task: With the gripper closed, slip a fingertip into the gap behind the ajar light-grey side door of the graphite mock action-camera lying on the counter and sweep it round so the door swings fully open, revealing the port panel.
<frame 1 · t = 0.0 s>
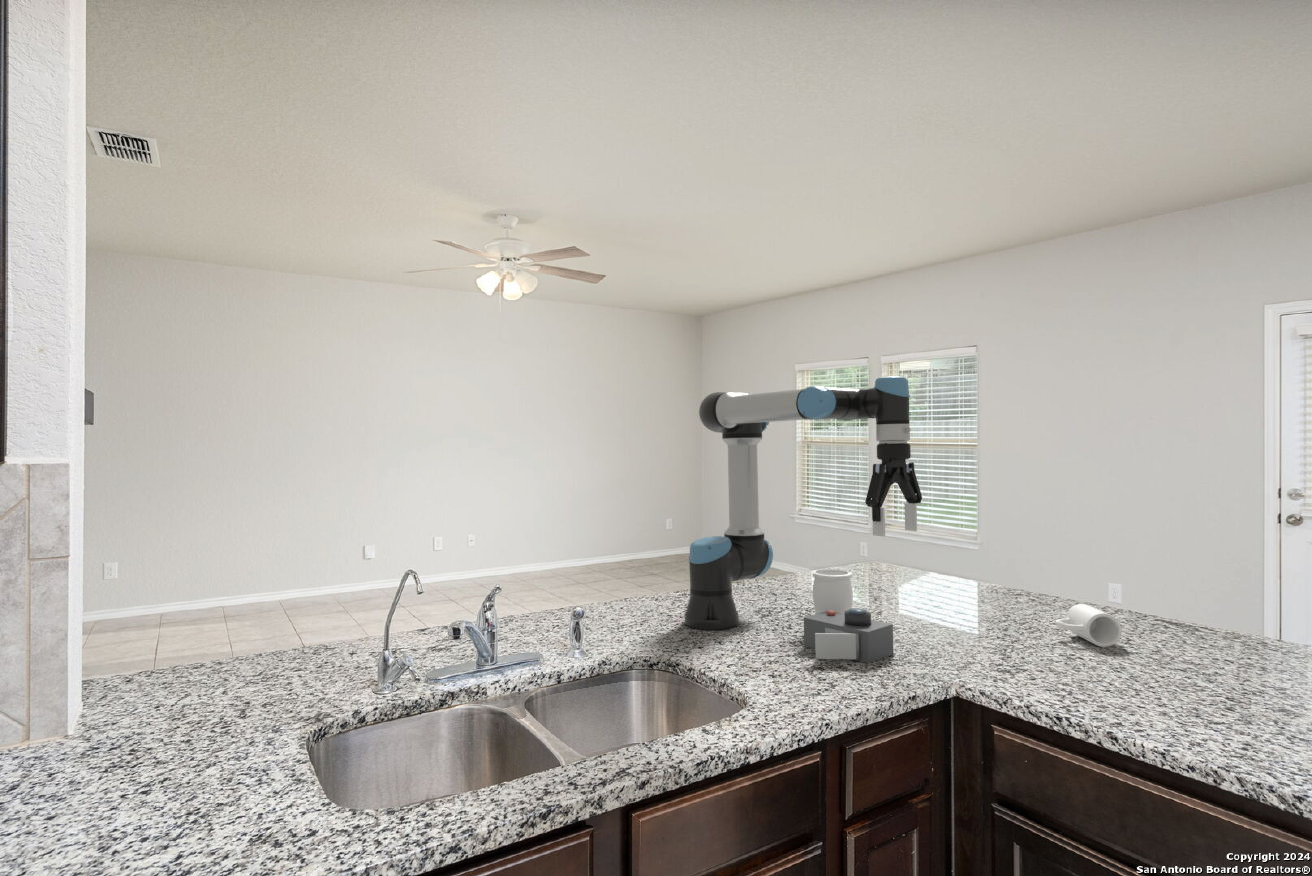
hand: (895, 533, 158), 28 cm above the worktop, fingers open, 13 cm apart
side door: (837, 646, 152), point 3 cm above the worktop, hinge at 45.0°
camera body: (847, 650, 160), on the worktop
mug: (1084, 641, 164), on the worktop
jar: (833, 629, 179), on the worktop
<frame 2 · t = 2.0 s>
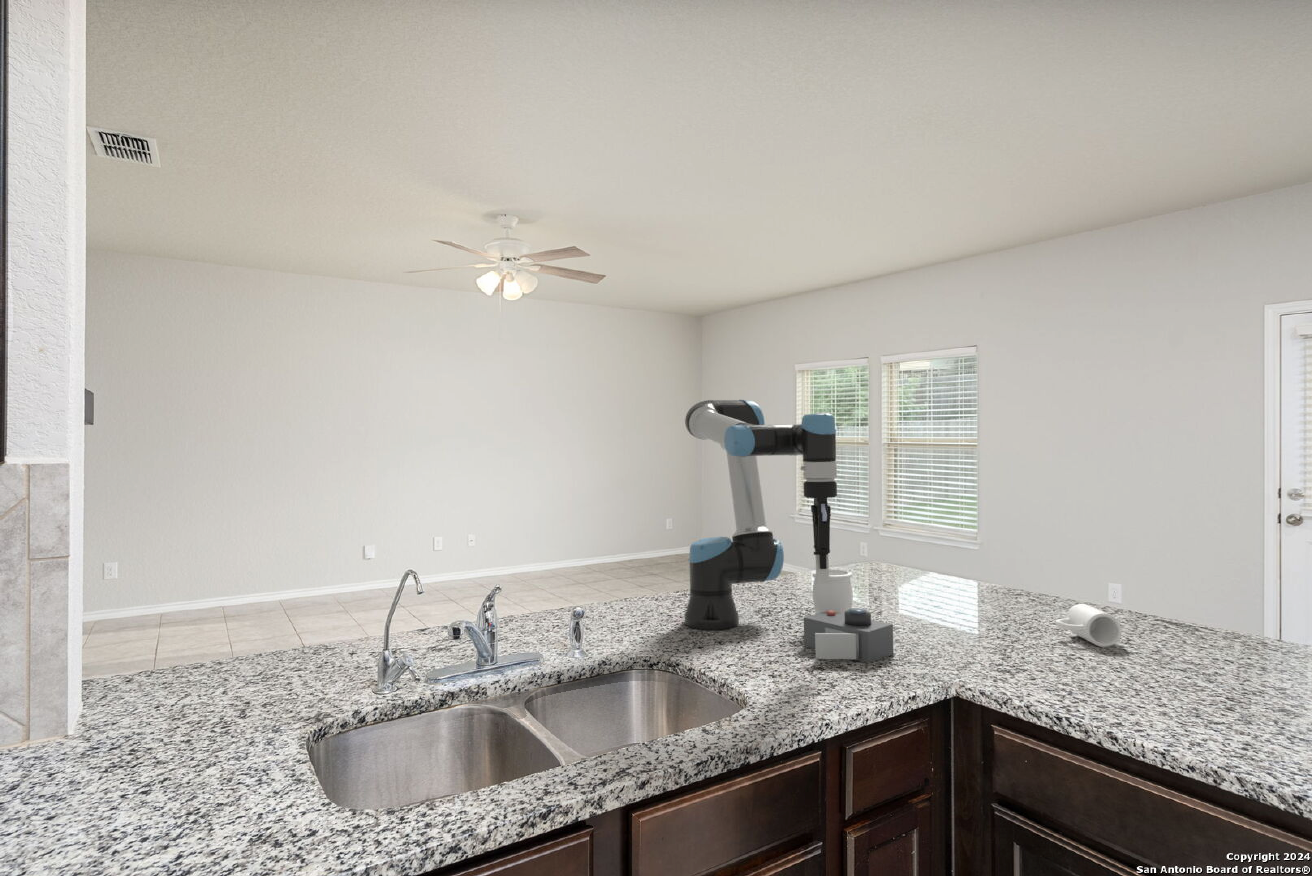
hand: (822, 582, 155), 17 cm above the worktop, fingers closed
nothing on the worktop moved.
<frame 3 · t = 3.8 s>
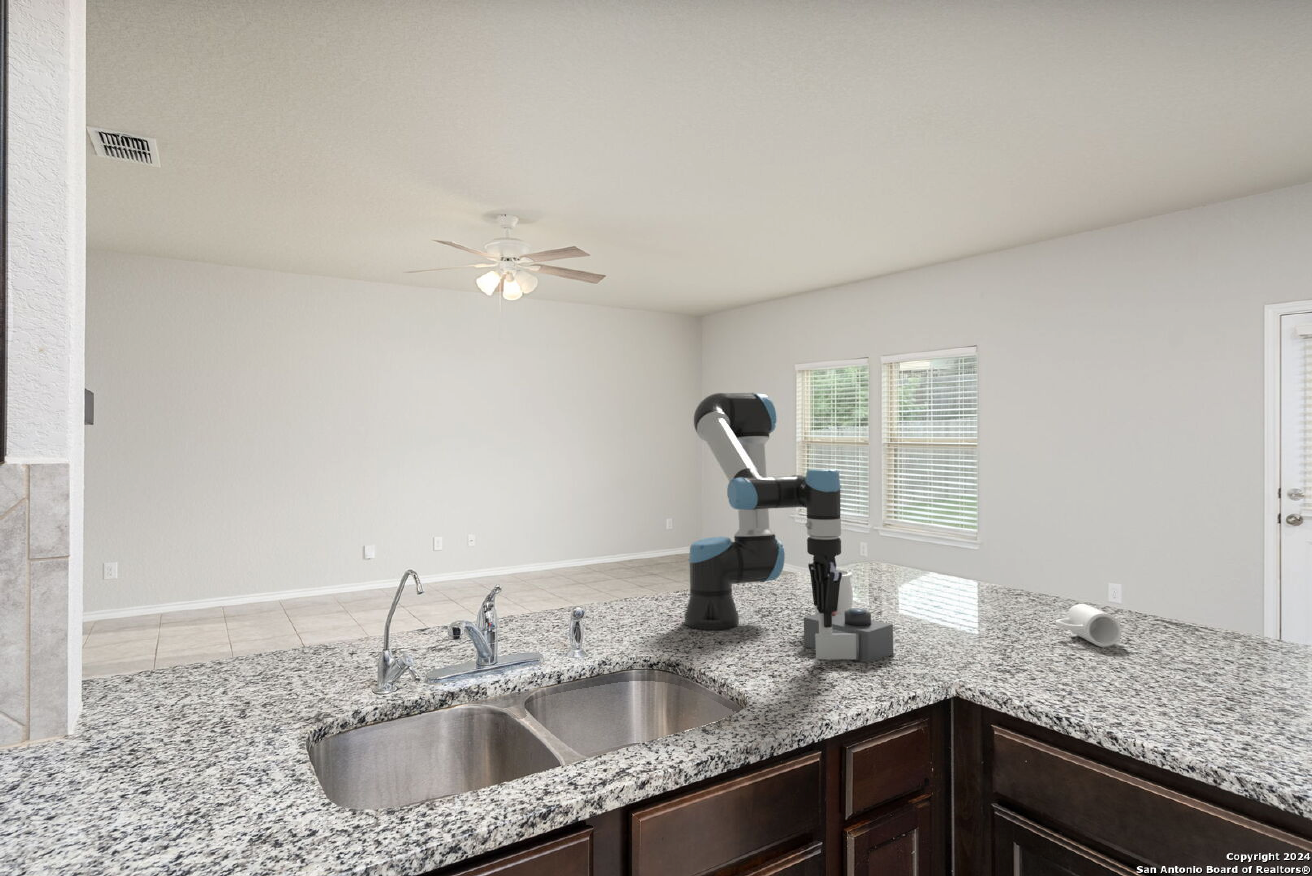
hand: (825, 640, 153), 4 cm above the worktop, fingers closed
side door: (837, 646, 152), point 3 cm above the worktop, hinge at 47.8°, touching gripper
everything else where it was.
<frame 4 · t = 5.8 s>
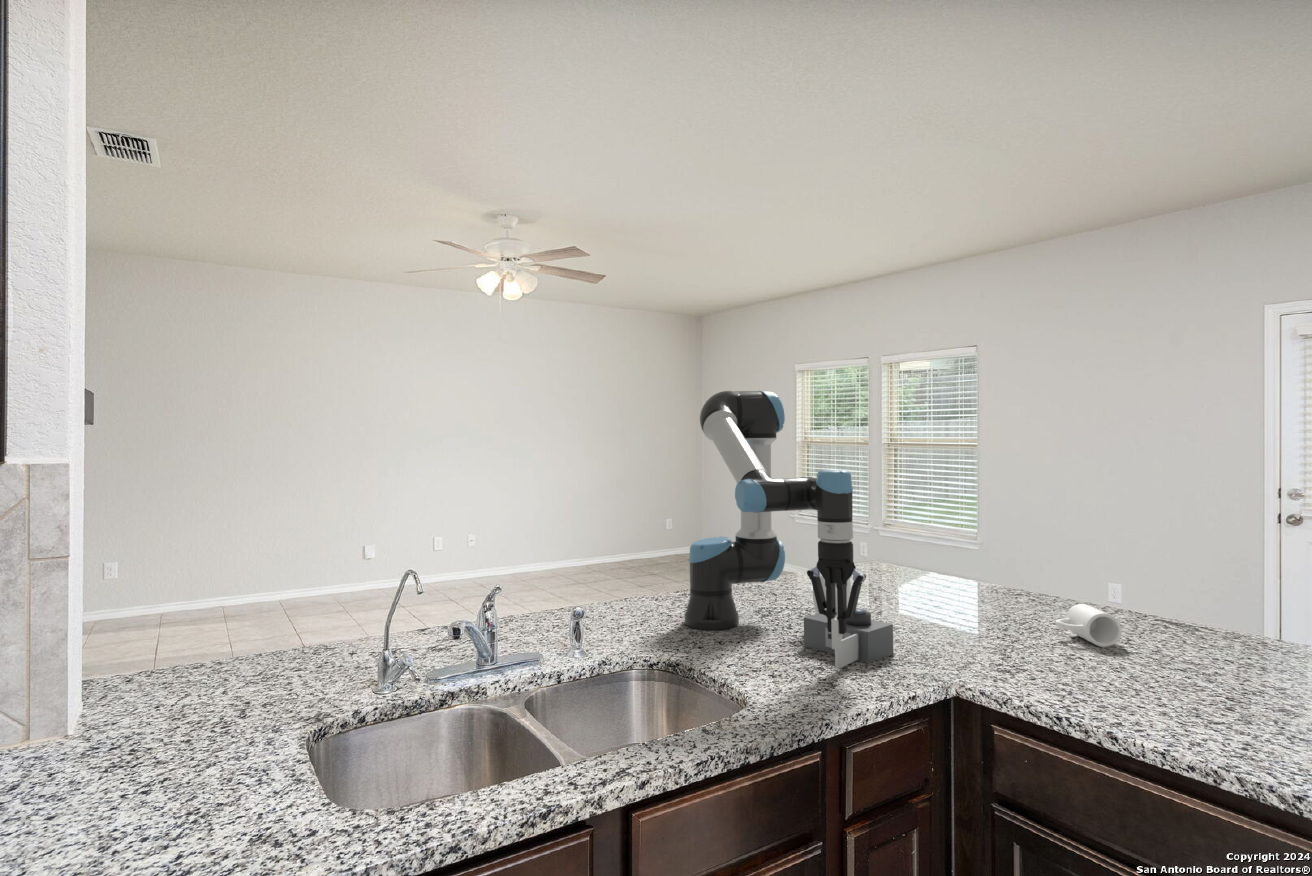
hand: (837, 647, 147), 4 cm above the worktop, fingers closed
side door: (847, 650, 148), point 3 cm above the worktop, hinge at 96.4°, touching gripper
everything else where it was.
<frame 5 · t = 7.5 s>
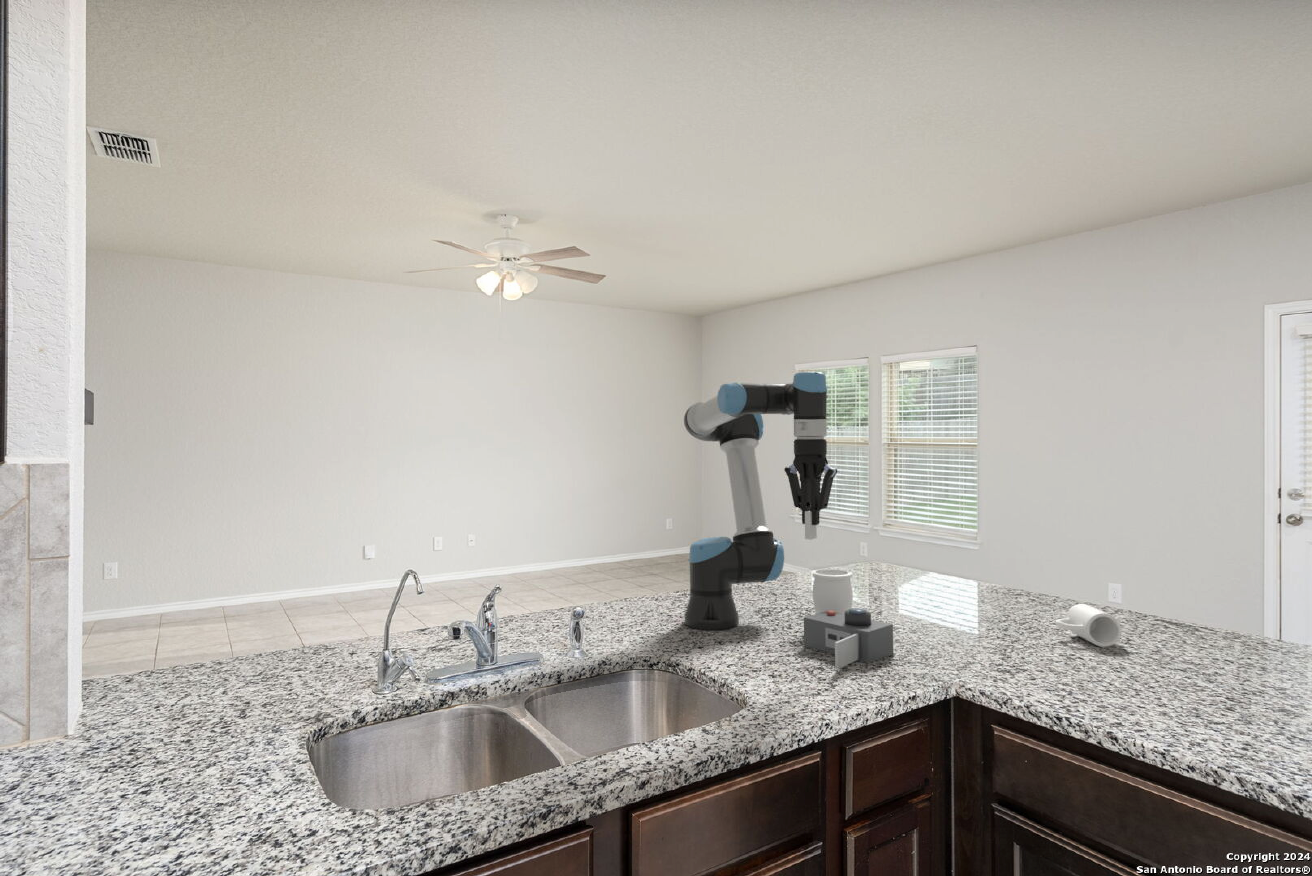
hand: (810, 538, 158), 27 cm above the worktop, fingers closed
side door: (847, 650, 148), point 3 cm above the worktop, hinge at 96.5°
everything else where it was.
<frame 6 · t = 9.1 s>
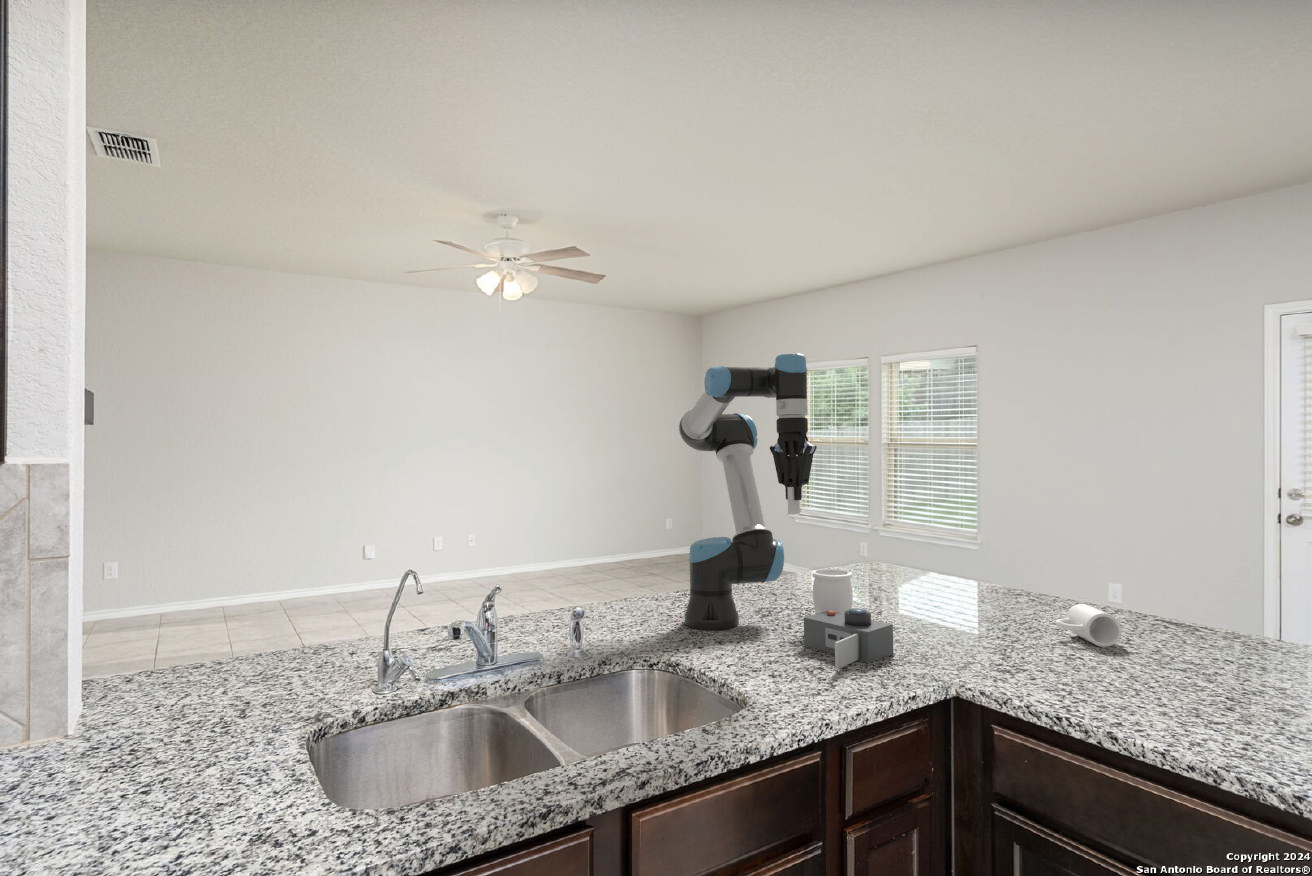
hand: (794, 513, 164), 32 cm above the worktop, fingers closed
nothing on the worktop moved.
at the end: side door at +96° (first picture: +45°) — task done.
